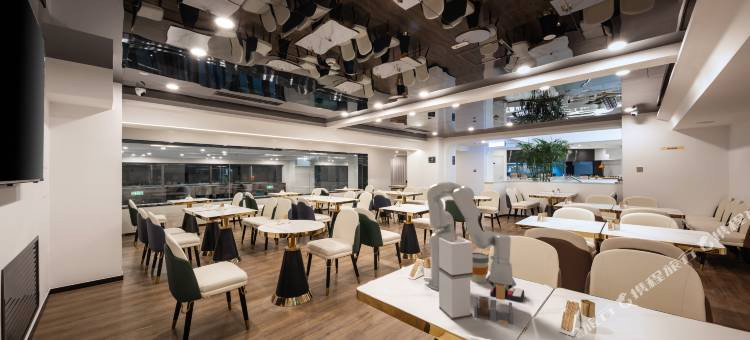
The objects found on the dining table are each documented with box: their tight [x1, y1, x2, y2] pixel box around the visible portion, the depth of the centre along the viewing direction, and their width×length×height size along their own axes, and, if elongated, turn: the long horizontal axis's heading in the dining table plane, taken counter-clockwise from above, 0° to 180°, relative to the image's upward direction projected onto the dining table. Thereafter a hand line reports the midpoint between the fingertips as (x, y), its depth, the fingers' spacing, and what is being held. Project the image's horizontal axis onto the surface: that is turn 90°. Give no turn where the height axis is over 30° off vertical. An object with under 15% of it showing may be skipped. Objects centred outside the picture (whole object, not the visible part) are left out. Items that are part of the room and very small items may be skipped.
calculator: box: [489, 287, 525, 303], centre depth 156 cm, size 11×4×15 cm
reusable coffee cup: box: [470, 252, 490, 284], centre depth 179 cm, size 13×13×15 cm
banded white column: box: [438, 235, 474, 321], centre depth 138 cm, size 11×11×35 cm
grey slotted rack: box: [473, 296, 514, 325], centre depth 135 cm, size 16×10×6 cm, turn 68°
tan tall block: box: [495, 283, 506, 301], centre depth 146 cm, size 4×4×7 cm
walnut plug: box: [478, 295, 490, 316], centre depth 137 cm, size 4×4×7 cm
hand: (500, 295), depth 146 cm, fingers closed on tan tall block, 4 cm apart
